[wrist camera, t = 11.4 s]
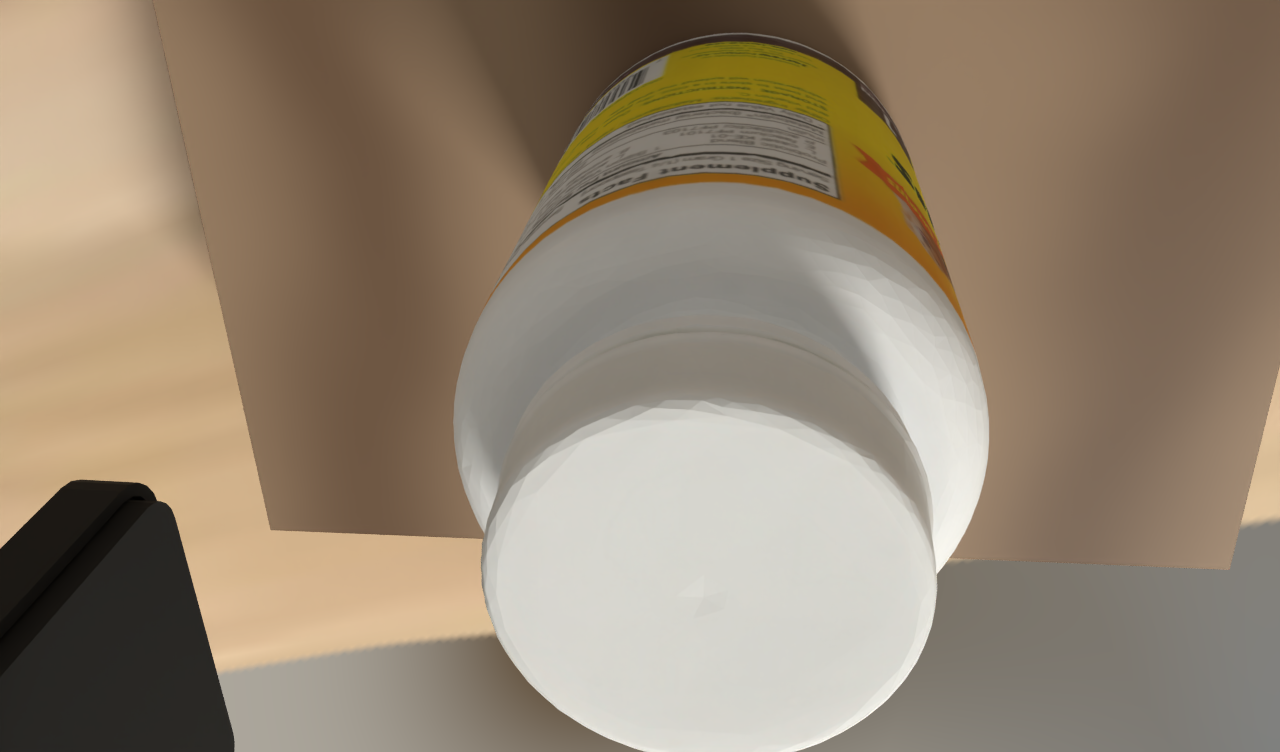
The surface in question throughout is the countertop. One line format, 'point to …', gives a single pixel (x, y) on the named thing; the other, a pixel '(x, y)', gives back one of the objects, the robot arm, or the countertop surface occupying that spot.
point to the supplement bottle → (722, 409)
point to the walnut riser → (945, 169)
